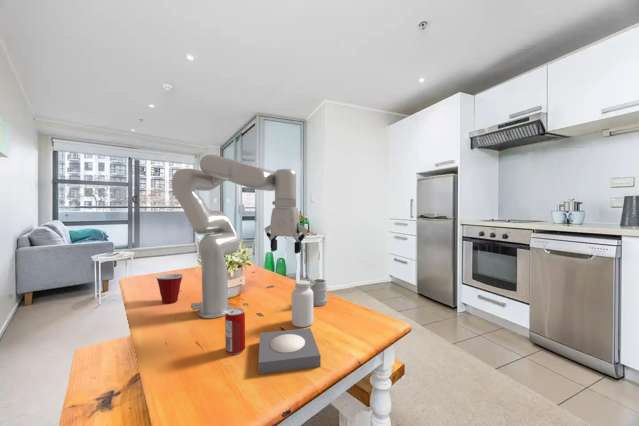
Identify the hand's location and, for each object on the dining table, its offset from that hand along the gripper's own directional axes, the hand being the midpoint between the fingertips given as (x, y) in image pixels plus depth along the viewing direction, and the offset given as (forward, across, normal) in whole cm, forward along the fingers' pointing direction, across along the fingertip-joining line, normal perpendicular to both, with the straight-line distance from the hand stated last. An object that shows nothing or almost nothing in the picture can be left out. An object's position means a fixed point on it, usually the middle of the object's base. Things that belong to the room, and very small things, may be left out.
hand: (285, 251), depth 95 cm
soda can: (+26, -5, -21) cm, 34 cm away
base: (+26, +10, -17) cm, 33 cm away
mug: (+26, +2, +22) cm, 34 cm away
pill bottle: (+26, +5, +3) cm, 27 cm away
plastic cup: (+27, -59, 0) cm, 65 cm away
